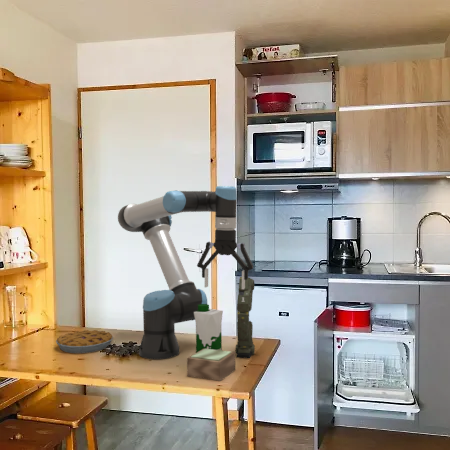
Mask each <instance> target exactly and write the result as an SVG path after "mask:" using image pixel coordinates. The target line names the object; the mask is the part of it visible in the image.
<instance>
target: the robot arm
mask: <svg viewBox="0 0 450 450" xmlns="http://www.w3.org/2000/svg"><path fill="white" fill-rule="evenodd" d="M237 194H238V193H237V187H235V186H232V185H231V186H229V185H228V186H226V185H224V186H223V185H219V186H216V187H215V191H212V190H210V191H209V190H199V191H198V190H192V191H190V190H188V191H187V190H171V191H170V190H169V191H167V192H165V194H164V195H162V196H159V197H157V198H154V199H150V200H148V201H145V202H142V203H138V204H137V203H130V204H127V205H125V206H123V207H121V208H120V210H118V213H117V222H118V224H119V225H120V227H121V228H122V229H123V230H125V231H127V232H130V233H142V234H143V237H144V239H146V240H147V241H149V242H150V245H151V247H152V249H153V252H154V255H155V256H156V259H157V261H158V264H159V267H160V270H161V272H162V274H163V276H164V279H165V282H166V284H167V287H168V289H162V290H155V291H151V292H149V293H147V294H146V295H145V296H144V297H143V301H142V309H143V310H142V311H143V313H142V314H143V315H142V316H143V335H142V336H143V337H142V338H141V341H140V345H139V350H138V351H139V354H138V355H139V356H140V357H141V358H144V359H147V360H163V359H164V360H165V359H170V358H174V357H176V356H179V354H180V345H179V342H178V339H177V336H176V332H175V324H179V323H184V322H191V321H195V317H194V312H195V311H197V310H198V305H199V304H208V298H207V294H206V293H205V291H204V290H203V289H200V288H197V286H196V285H195V282H194V281H191V280H190V279H189V278H188V277H189V276H188V275H187V273H186V270H185V268H184V265H183V263H182V261H181V258H180V255H179V254H178V250H177V249H176V247H175V245H174V242H173V239H172V238H171V237H172V236H171V235H170V232H171V227H172V223H173V221H172V218H173V217H172V215H175V214H176V215H177V214H180V213H181V214H182V213H192V212H193V213H194V212H195V213H197V212H198V213H199V212H203V213H204V212H205V213H207V212H209V213H210V212H211V213H212V212H213V213H215V215H214V217H215V221H214V228H215V230H214V232H215V233H214V242H211V241H207V242H206V243H205V248H204V251H203V252H202V255H201V256H200V258H199V260H198V263H196V264H197V265H196V266H197V268H200V269H201V277H202V278H203V279H204V288H208V287H209V268H207V267H208V266H209V265H210V264H211V263H212V261H213V260H214V259H215V258H216V257H217V256H218V255H219V256H230V255H231V256H232V257H233V258H234V259H235V261H236V262H237V263H238V264H239V265H240V267H241V268H242V269H243V270H241V277H242V289H244V288H245V280H247V279H248V278H249V271H250V270H253V268H254V265H253V263H252V261H251V259H250V257H249V255H248V252H247V250H246V245H245V242H242V243H237V231H236V228H237V205H238V204H237V203H238V202H237V199H238V195H237ZM213 247H214V249H215V251H214V252H213V253H212V255H210V257H209V258H208V259H207V260H206V261H205V259H206V257H207V255H208V254H209V252H210V250H211V248H213ZM237 248H238V250H240V251H241V254H242V256H243V257H244V260H245V261H243V259H242V258H241V257H240V255H239V254H238V253H237V251H236V249H237ZM245 262H246V263H245Z"/></svg>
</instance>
